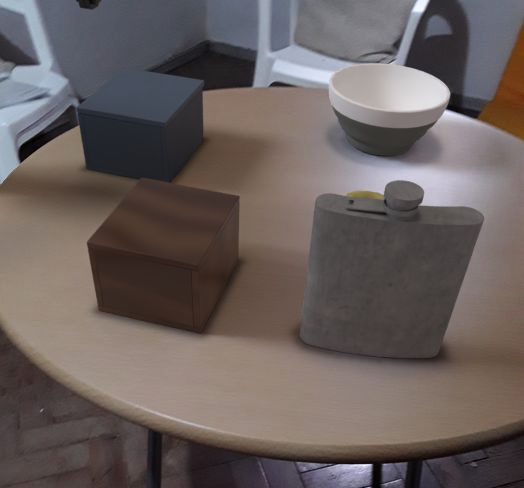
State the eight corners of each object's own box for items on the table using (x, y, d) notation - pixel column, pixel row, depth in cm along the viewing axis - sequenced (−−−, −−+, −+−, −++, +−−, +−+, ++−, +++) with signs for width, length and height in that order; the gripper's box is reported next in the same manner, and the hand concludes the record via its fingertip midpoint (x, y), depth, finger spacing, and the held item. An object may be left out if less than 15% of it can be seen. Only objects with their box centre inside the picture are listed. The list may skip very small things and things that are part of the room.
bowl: (423, 180, 99) (438, 122, 92) (306, 153, 104) (312, 95, 97) (445, 130, 112) (459, 76, 106) (340, 108, 117) (348, 55, 110)
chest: (128, 126, 108) (122, 74, 101) (203, 140, 105) (202, 87, 99) (86, 169, 97) (77, 113, 90) (169, 184, 94) (165, 128, 88)
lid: (125, 72, 102) (124, 67, 101) (204, 85, 100) (204, 80, 99) (76, 112, 90) (76, 107, 90) (165, 128, 88) (165, 122, 88)
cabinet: (147, 242, 84) (141, 177, 77) (238, 261, 82) (239, 195, 75) (98, 310, 73) (86, 241, 67) (200, 333, 71) (198, 265, 65)
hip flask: (437, 340, 72) (489, 184, 58) (440, 365, 70) (496, 207, 56) (300, 325, 73) (319, 168, 59) (297, 349, 70) (317, 190, 56)
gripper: (-16, -187, 61) (22, 8, 73) (108, -173, 59) (126, 25, 71) (26, -192, 66) (56, -10, 79) (142, -180, 64) (154, 6, 76)
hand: (89, 7), depth 75 cm, fingers closed
